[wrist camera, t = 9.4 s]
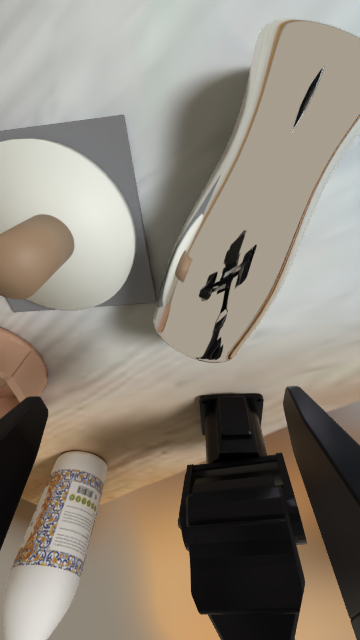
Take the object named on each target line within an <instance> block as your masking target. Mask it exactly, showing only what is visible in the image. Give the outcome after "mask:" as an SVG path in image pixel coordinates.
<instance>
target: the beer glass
mask: <svg viewBox="0 0 360 640" xmlns="http://www.w3.org/2000/svg"><path fill="white" fill-rule="evenodd" d="M359 134H360V37H359V36H357V35H355V34H353V33H351V32H349V31H346V30H344V29H341V28H338V27H336V26H333V25H329V24H326V23H322V22H318V21H313V20H307V19H299V18H284V19H278V20H274V21H271V22H269V23H268V24H266V25H265V26H264V27H263V28H262V29H261V31H260V33H259V35H258V38H257V41H256V45H255V49H254V54H253V58H252V63H251V68H250V72H249V77H248V81H247V86H246V90H245V94H244V98H243V102H242V105H241V109H240V112H239V115H238V118H237V121H236V123H235V126H234V129H233V132H232V134H231V136H230V139H229V141H228V143H227V145H226V148H225V150H224V152H223V154H222V156H221V158H220V160H219V162H218V164H217V165H216V167H215V169H214V171H213V173H212V175H211V177H210V178H209V180H208V182H207V184H206V186H205V187H204V189H203V191H202V193H201V194H200V196H199V198H198V200H197V202H196V203H195V205H194V207H193V209H192V211H191V213H190V214H189V216H188V218H187V220H186V222H185V224H184V226H183V228H182V230H181V232H180V234H179V236H178V238H177V241H176V243H175V246H174V248H173V251H172V253H171V256H170V259H169V261H168V265H167V268H166V271H165V274H164V277H163V281H162V285H161V289H160V292H159V297H158V301H157V305H156V309H155V312H154V314H153V324H154V327H155V329H156V331H157V332H158V334H159V335H160V337H161V338H162V339H163V340H164V341H165V342H166V343H167V344H168V345H170V346H171V347H172V348H174V349H175V350H177V351H178V352H180V353H182V354H184V355H186V356H188V357H190V358H193V359H196V360H199V361H204V362H210V363H221V362H226V361H229V360H231V359H232V358H234V357H235V356H236V355H237V353H238V351H239V350H240V348H241V347H242V346H243V344H244V343H245V342H246V341H247V339H248V338H249V337H250V335H251V334H252V333H253V331H254V330H255V329H256V327H257V326H258V325H259V323H260V322H261V320H262V319H263V317H264V316H265V315H266V313H267V312H268V310H269V309H270V307H271V305H272V304H273V302H274V300H275V298H276V297H277V295H278V293H279V292H280V290H281V288H282V286H283V284H284V282H285V280H286V277H287V275H288V273H289V271H290V269H291V267H292V264H293V262H294V259H295V257H296V255H297V252H298V250H299V247H300V245H301V243H302V240H303V238H304V235H305V233H306V230H307V228H308V225H309V223H310V220H311V218H312V215H313V213H314V211H315V208H316V206H317V204H318V201H319V199H320V197H321V194H322V192H323V190H324V189H325V187H326V185H327V183H328V181H329V179H330V177H331V175H332V173H333V172H334V170H335V169H336V167H337V165H338V164H339V162H340V161H341V159H342V157H343V156H344V154H345V153H346V152H347V150H348V149H349V148H350V146H351V145H352V143H353V142H354V141H355V139H356V138H357V137H358V136H359Z"/></svg>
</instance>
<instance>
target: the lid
mask: <svg viewBox="0 0 360 640" xmlns="http://www.w3.org/2000/svg"><path fill="white" fill-rule="evenodd" d="M135 254H136V230H135V224H134V220H133V217H132V214H131V211H130V209H129V206H128V204H127V202H126V200H125V198H124V196H123V194H122V193H121V191H120V190H119V188H118V187H117V185H116V184H115V182H114V181H113V180H112V179H111V178H110V177H109V175H108V174H107V173H106V172H105V171H104V170H103V169H102V168H101V167H100V166H98V165H97V164H96V163H95V162H94V161H92V160H91V159H90V158H88V157H87V156H86V155H84V154H82V153H80V152H79V151H77V150H75V149H73V148H71V147H69V146H66V145H64V144H61V143H58V142H54V141H51V140H45V139H37V138H32V139H12V140H7V141H2V142H0V295H1V296H3V297H6V298H10V299H16V300H20V299H27V300H29V301H32V302H34V303H36V304H39V305H42V306H45V307H49V308H54V309H59V310H82V309H87V308H91V307H94V306H97V305H99V304H102V303H103V302H105V301H107V300H109V299H110V298H111V297H112V296H114V295H115V294H116V293H117V292H118V291H119V290H120V288H121V287H122V286H123V284H124V283H125V281H126V279H127V277H128V275H129V273H130V270H131V268H132V266H133V262H134V259H135Z"/></svg>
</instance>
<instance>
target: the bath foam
mask: <svg viewBox="0 0 360 640" xmlns="http://www.w3.org/2000/svg"><path fill="white" fill-rule="evenodd" d="M106 474H107V465H106V463H105V462H104V461H103V460H102V459H101V458H100V457H98V456H96V455H94V454H91V453H88V452H83V451H71V452H66V453H64V454H62V455H61V456H59V457H58V459H57V460H56V463H55V465H54V467H53V470H52V472H51V475H50V477H49V479H48V481H47V484H46V486H45V489H44V491H43V493H42V496H41V498H40V501H39V503H38V506H37V508H36V511H35V513H34V515H33V518H32V520H31V522H30V525H29V527H28V530H27V532H26V534H25V537H24V539H23V542H22V544H21V546H20V549H19V551H18V554H17V556H16V559H15V561H14V563H13V566H12V568H11V571H10V574H9V577H8V581H7V584H6V588H5V593H4V600H3V629H4V640H47V638H48V637H49V636H50V635H51V633H52V632H53V631H54V629H55V628H56V626H57V625H58V624H59V622H60V620H61V619H62V618H63V616H64V615H65V613H66V611H67V610H68V608H69V606H70V604H71V602H72V600H73V597H74V595H75V593H76V590H77V587H78V584H79V581H80V578H81V574H82V570H83V566H84V562H85V558H86V554H87V550H88V546H89V542H90V538H91V534H92V530H93V526H94V522H95V518H96V514H97V510H98V506H99V502H100V498H101V494H102V490H103V486H104V482H105V478H106Z"/></svg>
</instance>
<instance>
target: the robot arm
mask: <svg viewBox="0 0 360 640" xmlns="http://www.w3.org/2000/svg"><path fill="white" fill-rule="evenodd" d="M199 401H200V413H201V423H202V434H203V435H205V437H206V462H207V464H200V465H193V464H192V465H187V472H186V474H185V480H184V486H183V492H182V499H181V506H180V512H179V518H178V526H179V528H180V529H181V530H182V537H183V541H184V544H185V547H186V549H187V550H188V551H189V554H190V568H191V593H192V597H193V599H194V602H195V604H196V607H197V609H198V612H199V613H200V614H208V616H209V618H210V620H211V621H212V623H213V625H214V627H215V629H216V631H217V633H218V635H219V637H220V639H221V640H295V633H296V628H297V622H298V617H299V612H300V607H301V602H302V597H303V592H304V586H305V580H304V575H303V571H302V566H301V562H300V558H299V554H298V551H297V546H296V545H303V544H307V542H306V537H305V533H304V529H303V525H302V522H301V518H300V514H299V510H298V507H297V503H296V499H295V496H294V492H293V489H292V486H291V482H290V479H289V475H288V472H287V468H286V465H285V462H284V458H283V455H282V453H276V455H269V456H267V452H266V448H265V444H264V439H263V435H262V431H261V419H262V410H263V401H264V400H263V396H262V395H261V394H245V395H217V396H202V397H200V399H199ZM283 407H284V412H285V417H286V421H287V426H288V430H289V435H290V439H291V444H292V448H293V452H294V455H295V458H296V461H297V464H298V467H299V470H300V473H301V476H302V479H303V482H304V485H305V488H306V491H307V494H308V497H309V500H310V503H311V506H312V508H313V512H314V514H315V517H316V520H317V523H318V526H319V529H320V532H321V535H322V538H323V540H324V544H325V547H326V550H327V553H328V556H329V559H330V561H331V565H332V567H333V570H334V573H335V576H336V579H337V582H338V585H339V588H340V591H341V594H342V597H343V599H344V602H345V606H346V609H347V612H348V614H349V617H350V619H351V624H352V627H353V629H354V633H355V636H356V639H357V640H360V445H359V444H358V443H357V442H356V441H355V440H353V438H352V437H351V436H349V434H348V433H346V432H345V431H344V430H343V429H342V428H341V427H340V426H339V425H338V424H337V423H336V422H335V421H334V420H333V419H332V418H331V417H330V416H329V415H328V414H327V413H326V412H325V411H324V410H323V409H322V408H321V407H320V406H319V405H318V404H317V403H316V402H315V401H313V400H312V399H311V398H310V397H309V396H308V395H307V394H306V393H305V392H304V391H303V390H302V389H301V388H300V387H298V386H289V387H286V389H285V395H284V401H283ZM47 418H48V409H47V407H46V405H45V404H44V402H43V400H42V399H41V397H39V396H29V397H27V398H25V399H24V400H23V401H21V402H20V403H19V404H18V405H17V406H15V407H14V408H13V409H12V410H10V411H9V412H8V413H7V414H5V415H4V416H3V417H2V418H0V550H1V547H2V545H3V542H4V539H5V537H6V534H7V532H8V529H9V527H10V524H11V521H12V519H13V516H14V514H15V511H16V508H17V506H18V503H19V501H20V498H21V496H22V493H23V490H24V488H25V485H26V483H27V480H28V477H29V475H30V472H31V470H32V467H33V465H34V462H35V459H36V456H37V453H38V450H39V447H40V443H41V439H42V436H43V432H44V429H45V425H46V421H47Z"/></svg>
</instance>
